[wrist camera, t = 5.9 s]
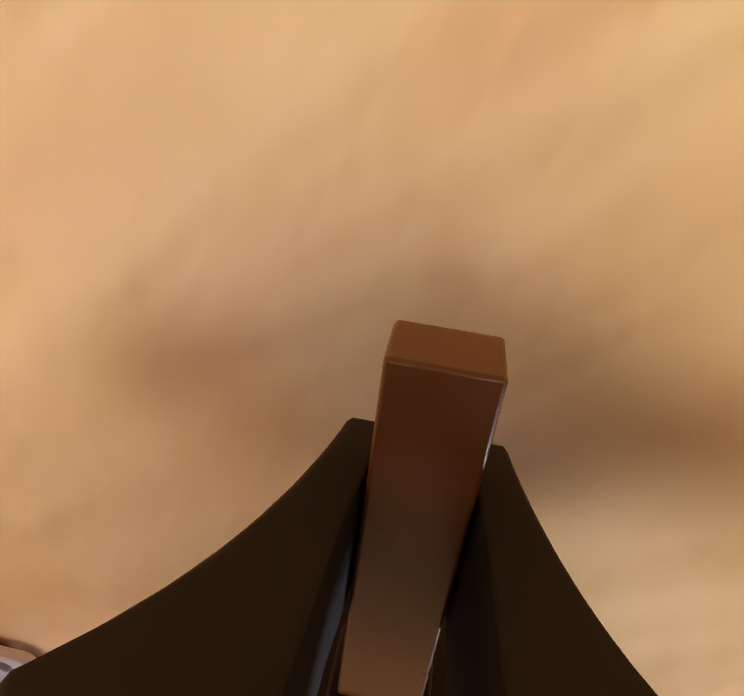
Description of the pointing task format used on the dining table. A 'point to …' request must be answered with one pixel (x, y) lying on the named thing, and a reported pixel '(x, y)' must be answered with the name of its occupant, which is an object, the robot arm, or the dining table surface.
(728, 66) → the dining table surface
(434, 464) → the skillet
